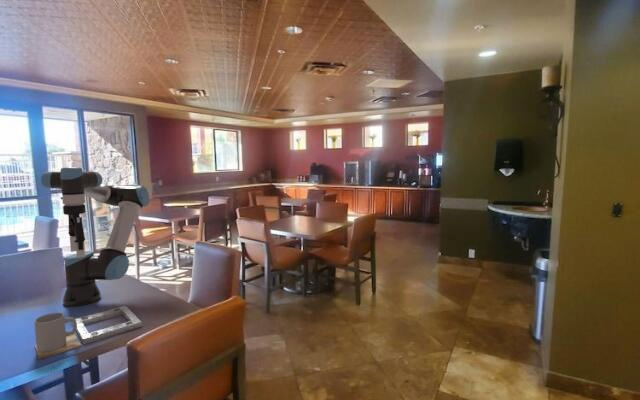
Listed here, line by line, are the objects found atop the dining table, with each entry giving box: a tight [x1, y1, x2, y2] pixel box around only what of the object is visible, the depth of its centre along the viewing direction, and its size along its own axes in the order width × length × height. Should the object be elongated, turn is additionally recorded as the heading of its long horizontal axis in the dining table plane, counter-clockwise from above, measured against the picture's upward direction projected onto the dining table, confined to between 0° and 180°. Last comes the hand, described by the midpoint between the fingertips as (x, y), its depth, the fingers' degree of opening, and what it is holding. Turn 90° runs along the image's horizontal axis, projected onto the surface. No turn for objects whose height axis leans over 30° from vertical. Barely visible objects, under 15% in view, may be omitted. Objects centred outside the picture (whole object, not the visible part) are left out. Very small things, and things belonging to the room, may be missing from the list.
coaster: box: [34, 332, 82, 360], centre depth 124 cm, size 12×12×1 cm
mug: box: [34, 312, 77, 353], centre depth 123 cm, size 12×8×11 cm
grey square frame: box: [72, 305, 143, 345], centre depth 140 cm, size 22×20×2 cm
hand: (77, 254), depth 143 cm, fingers open, 13 cm apart
